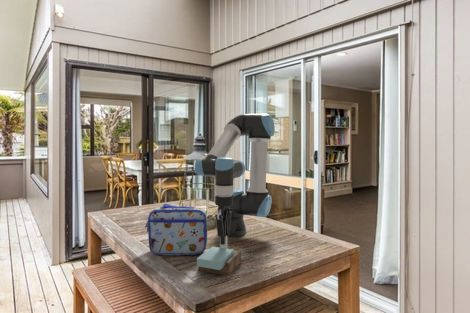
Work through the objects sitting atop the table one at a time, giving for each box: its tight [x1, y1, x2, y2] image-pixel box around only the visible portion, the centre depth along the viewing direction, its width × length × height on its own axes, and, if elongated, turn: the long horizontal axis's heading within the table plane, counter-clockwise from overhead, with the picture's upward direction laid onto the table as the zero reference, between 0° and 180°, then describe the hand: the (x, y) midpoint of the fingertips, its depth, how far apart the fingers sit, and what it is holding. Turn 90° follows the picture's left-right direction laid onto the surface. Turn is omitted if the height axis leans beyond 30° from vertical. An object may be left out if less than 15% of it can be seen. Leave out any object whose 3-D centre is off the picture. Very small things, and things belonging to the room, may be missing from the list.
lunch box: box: [144, 203, 208, 256], centre depth 145 cm, size 28×10×22 cm, turn 92°
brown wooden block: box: [197, 246, 242, 277], centre depth 132 cm, size 14×13×5 cm
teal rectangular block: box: [196, 246, 235, 270], centre depth 127 cm, size 14×10×3 cm
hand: (223, 251), depth 135 cm, fingers closed
